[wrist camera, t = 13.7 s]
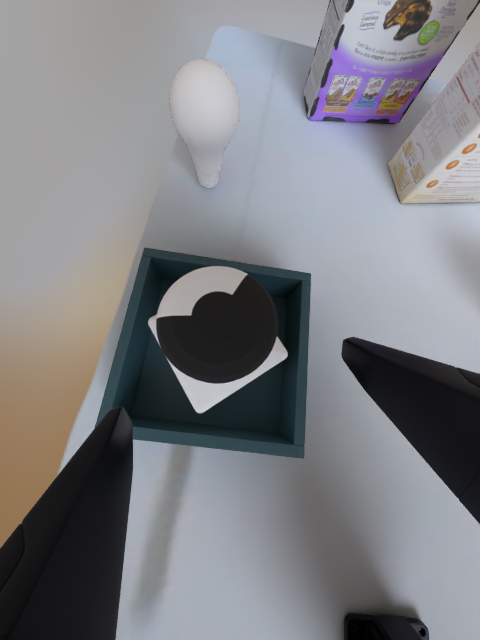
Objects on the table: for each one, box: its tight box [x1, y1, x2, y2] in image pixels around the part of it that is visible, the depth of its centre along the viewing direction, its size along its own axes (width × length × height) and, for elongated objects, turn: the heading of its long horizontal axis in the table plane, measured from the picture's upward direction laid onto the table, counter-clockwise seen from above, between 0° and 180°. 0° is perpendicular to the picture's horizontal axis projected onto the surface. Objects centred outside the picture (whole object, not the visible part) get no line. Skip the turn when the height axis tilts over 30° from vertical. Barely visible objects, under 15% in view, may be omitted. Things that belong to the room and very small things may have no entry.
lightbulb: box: [170, 59, 240, 188], centre depth 23 cm, size 6×6×11 cm
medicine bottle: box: [148, 266, 288, 413], centre depth 17 cm, size 7×7×12 cm
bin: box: [95, 248, 311, 458], centre depth 20 cm, size 15×15×5 cm
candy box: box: [303, 0, 480, 123], centre depth 26 cm, size 14×6×16 cm, turn 94°
